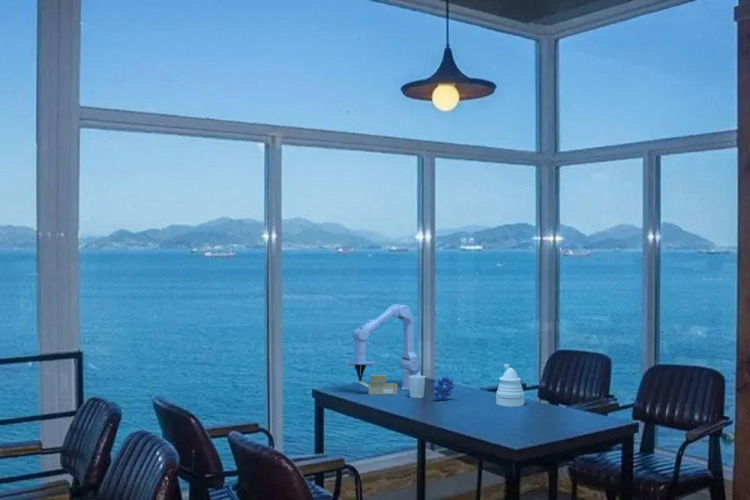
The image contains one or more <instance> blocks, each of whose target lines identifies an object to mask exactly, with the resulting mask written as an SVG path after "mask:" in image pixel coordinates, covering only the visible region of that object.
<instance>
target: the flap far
mask: <svg viewBox="0 0 750 500" xmlns="http://www.w3.org/2000/svg"><path fill="white" fill-rule="evenodd" d="M358 383H359V384H361V385H363V386H364V387H366V388H369V383H367V382H366V381H364V380H362V381H359V380H358Z"/></svg>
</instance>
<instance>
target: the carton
mask: <svg viewBox="0 0 750 500" xmlns="http://www.w3.org/2000/svg"><path fill="white" fill-rule="evenodd" d="M368 384H369V385H368V396H398V384H397V383H396V382H395V383H394V382H393V383H392V382H386V383H370V382H369V383H368Z"/></svg>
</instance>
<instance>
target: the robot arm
mask: <svg viewBox="0 0 750 500" xmlns="http://www.w3.org/2000/svg"><path fill="white" fill-rule="evenodd" d="M390 318H397V319H399V321H401V322H402V326H403V329H402V330H403V332H402V333H403V353H402V354H401V358H400V362H399V366H400V368H401V369H402V385H401V390H403V391H404V390H406V391H407V390H409V376H411V375H421V371H418V369H419V368H420V362H419V359H418V355H417V354H416V353H415V323H414V322H415V321H414V320H415V318H414V316H413V314H412V311H411V308H410V307H409V306H407V305H406V304H398V303H393V304H392V305H391V306H388V308H387V309H386V310H385V311H384V312H382V313H381V314H380V315H378V316H377V317H376V318H375V319H368V320H367V322H366V323H365V324H363V325H361V326H360V327H359V328H356V329H355V330H354V331H353V333H352V338H353V339H354V360H352V361H351V360H350V361H349V360H348V361H345V366H347V367H348V366H350V367H351V366H352V367H353V366H354V369H355V370H356V373H357V376H358V382H359V381H363V375H364V372H365V370H366V367H367V366H369V367H375V366H376V361H369V360H367V340H368V339H369V336H370V335H372V334H373V333H375V332H376V331H377V330H379V326H380V325H382V324H383V323H384V322H386V321H387V320H389V319H390Z"/></svg>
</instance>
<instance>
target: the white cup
mask: <svg viewBox="0 0 750 500" xmlns="http://www.w3.org/2000/svg"><path fill="white" fill-rule="evenodd" d="M425 384H426V376H425V375H422V374H420V375H411V376H409V398H412V399H423V398H424V397H425V387H426V385H425Z"/></svg>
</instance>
